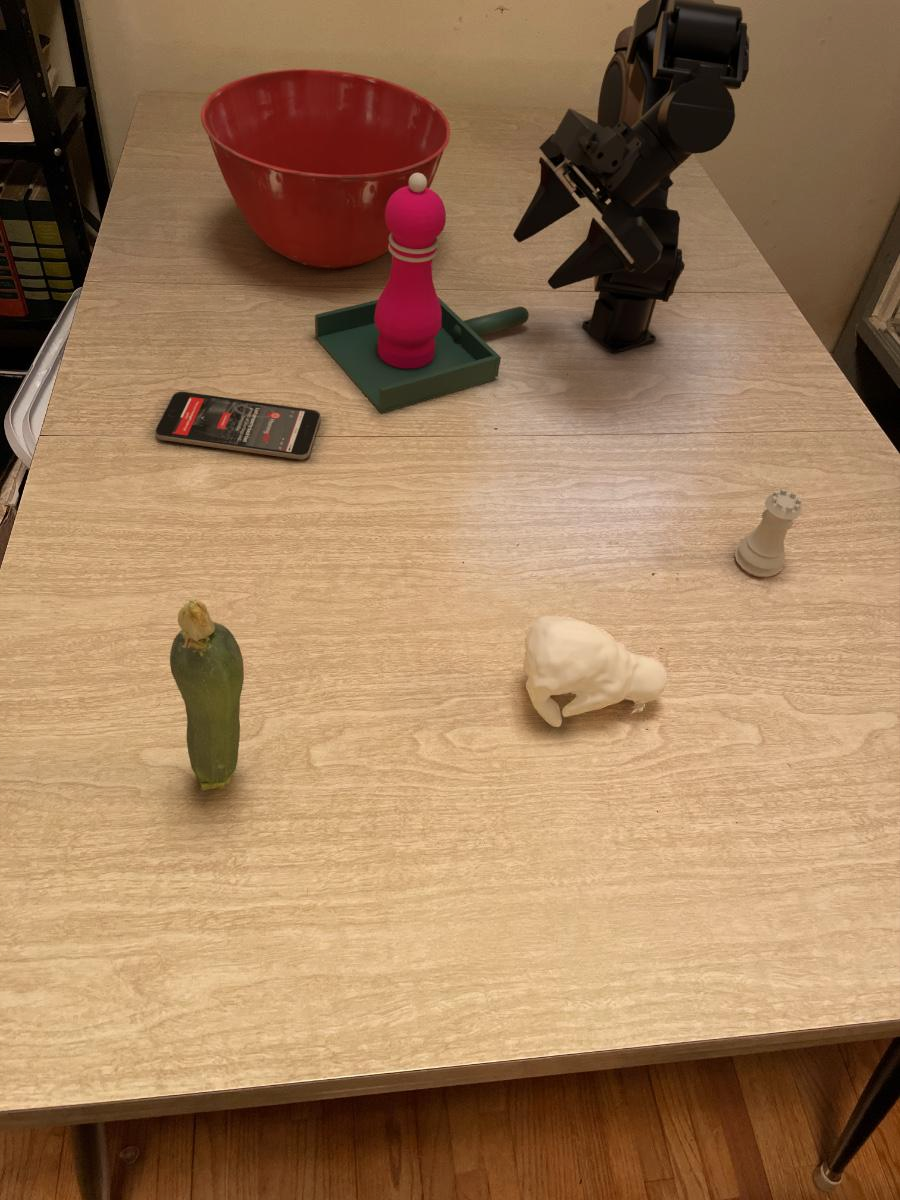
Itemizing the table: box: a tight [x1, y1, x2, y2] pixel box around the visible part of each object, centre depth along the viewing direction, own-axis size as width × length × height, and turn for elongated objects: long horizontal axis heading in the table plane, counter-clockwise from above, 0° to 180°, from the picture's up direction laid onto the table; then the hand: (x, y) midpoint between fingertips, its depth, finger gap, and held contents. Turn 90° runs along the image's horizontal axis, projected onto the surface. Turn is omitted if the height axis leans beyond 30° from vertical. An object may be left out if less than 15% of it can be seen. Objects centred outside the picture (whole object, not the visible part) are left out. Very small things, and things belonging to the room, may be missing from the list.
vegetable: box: [169, 598, 245, 791], centre depth 62 cm, size 4×4×20 cm
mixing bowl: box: [200, 68, 451, 270], centre depth 116 cm, size 28×28×15 cm
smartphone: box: [154, 391, 322, 461], centre depth 95 cm, size 7×1×15 cm
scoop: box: [314, 295, 530, 414], centre depth 107 cm, size 24×15×3 cm, turn 122°
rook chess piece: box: [734, 488, 803, 578], centre depth 87 cm, size 4×4×8 cm
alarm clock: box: [596, 25, 639, 129], centre depth 139 cm, size 15×7×20 cm, turn 6°
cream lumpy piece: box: [522, 615, 668, 728], centre depth 74 cm, size 6×8×12 cm
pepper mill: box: [374, 173, 447, 369], centre depth 99 cm, size 7×7×20 cm
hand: (532, 261), depth 96 cm, fingers open, 9 cm apart
